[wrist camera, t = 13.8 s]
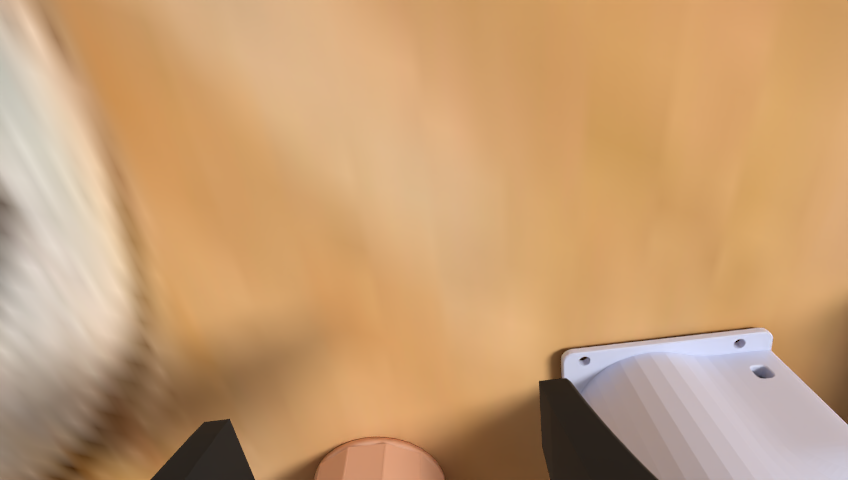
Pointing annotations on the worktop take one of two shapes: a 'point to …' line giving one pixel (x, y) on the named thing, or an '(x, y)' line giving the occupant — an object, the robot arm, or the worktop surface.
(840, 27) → the worktop surface
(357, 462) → the pen cup
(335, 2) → the worktop surface
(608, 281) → the worktop surface
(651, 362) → the robot arm
